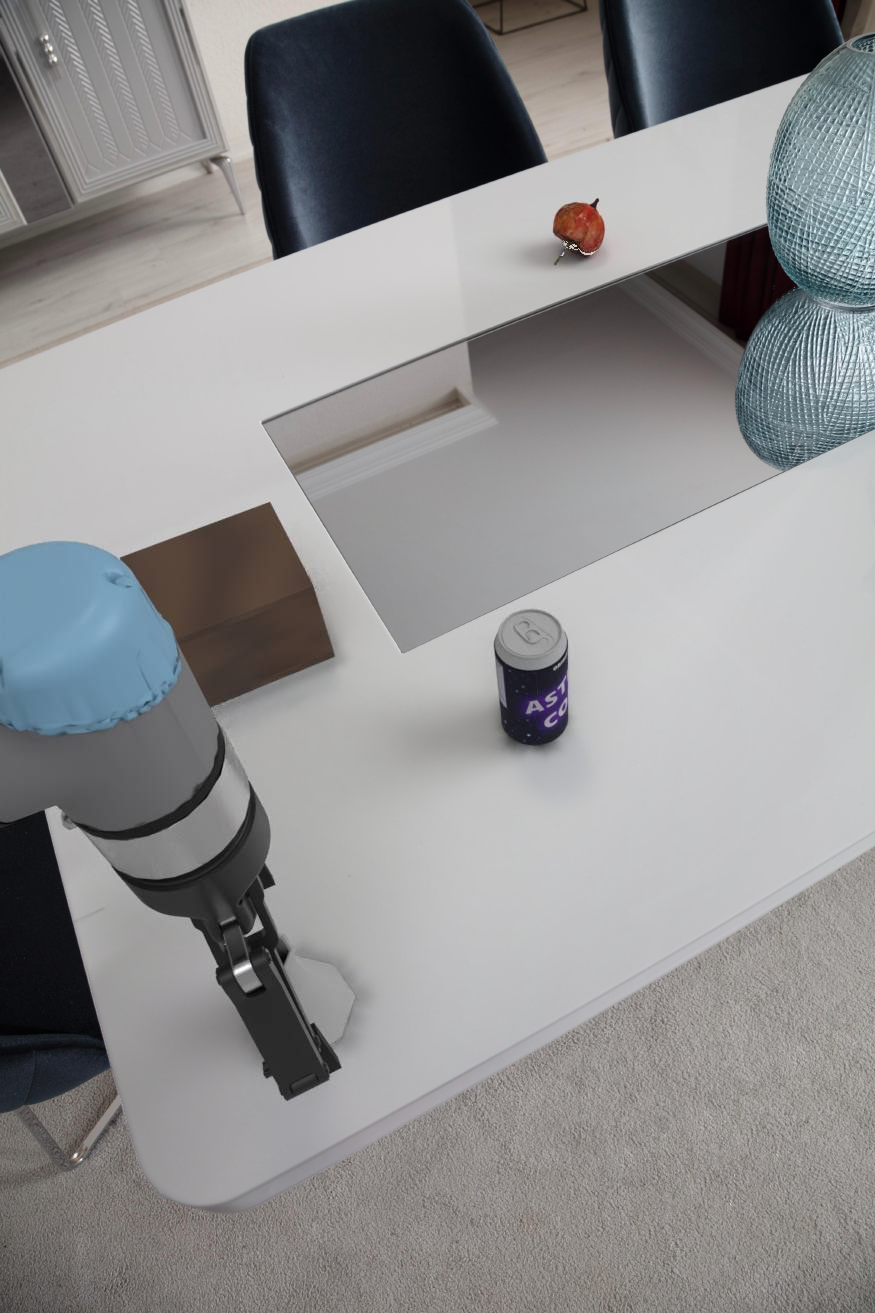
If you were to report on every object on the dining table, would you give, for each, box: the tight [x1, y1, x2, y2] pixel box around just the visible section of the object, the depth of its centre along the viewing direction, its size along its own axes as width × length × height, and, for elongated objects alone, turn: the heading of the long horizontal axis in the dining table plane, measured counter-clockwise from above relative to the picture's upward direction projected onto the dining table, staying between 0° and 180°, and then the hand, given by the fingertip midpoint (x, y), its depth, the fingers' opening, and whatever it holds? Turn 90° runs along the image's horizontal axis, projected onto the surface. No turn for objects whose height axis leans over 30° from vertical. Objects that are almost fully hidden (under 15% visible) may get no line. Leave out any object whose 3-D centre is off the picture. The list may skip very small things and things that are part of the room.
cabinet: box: [119, 501, 336, 708], centre depth 85 cm, size 15×13×10 cm
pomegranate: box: [552, 197, 606, 266], centre depth 126 cm, size 7×7×10 cm
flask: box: [275, 932, 356, 1046], centre depth 62 cm, size 7×7×10 cm
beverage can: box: [493, 608, 569, 746], centre depth 75 cm, size 6×6×12 cm
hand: (285, 974), depth 61 cm, fingers open, 13 cm apart
